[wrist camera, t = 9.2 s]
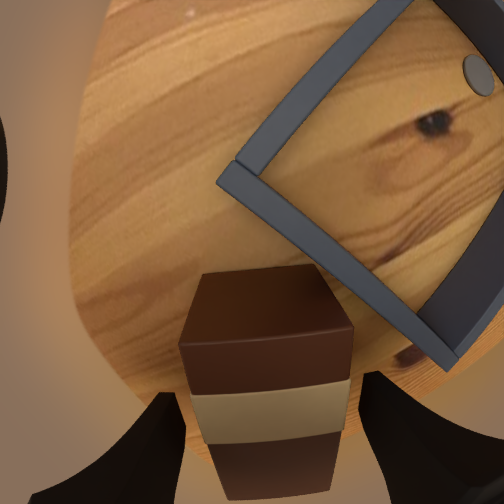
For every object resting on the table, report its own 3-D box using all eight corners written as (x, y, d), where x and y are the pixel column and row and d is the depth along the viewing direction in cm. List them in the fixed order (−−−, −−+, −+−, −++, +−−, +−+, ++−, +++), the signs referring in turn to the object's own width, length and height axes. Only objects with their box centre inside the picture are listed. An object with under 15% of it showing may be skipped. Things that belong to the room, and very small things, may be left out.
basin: (223, 177, 11) (214, 183, 8) (413, -28, 8) (446, -57, 5) (413, 333, 13) (447, 373, 10) (540, 134, 10) (581, 137, 7)
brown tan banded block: (229, 425, 15) (226, 502, 10) (200, 273, 12) (174, 344, 7) (313, 417, 15) (331, 491, 10) (315, 262, 12) (358, 326, 7)
